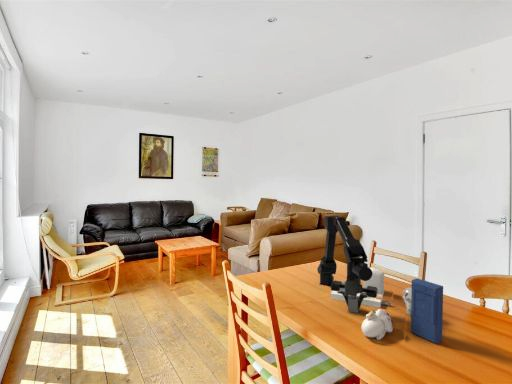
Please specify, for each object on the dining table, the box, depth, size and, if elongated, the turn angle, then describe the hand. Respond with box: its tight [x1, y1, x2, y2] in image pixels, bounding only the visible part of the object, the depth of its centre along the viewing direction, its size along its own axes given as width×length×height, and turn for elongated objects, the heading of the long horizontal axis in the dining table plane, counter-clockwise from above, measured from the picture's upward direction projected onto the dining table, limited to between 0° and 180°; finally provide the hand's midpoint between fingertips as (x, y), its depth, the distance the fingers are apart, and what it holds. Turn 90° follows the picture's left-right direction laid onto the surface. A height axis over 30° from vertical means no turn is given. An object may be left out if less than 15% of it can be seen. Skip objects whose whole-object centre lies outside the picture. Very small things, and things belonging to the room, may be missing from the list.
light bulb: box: [401, 287, 412, 317], centre depth 121 cm, size 7×7×12 cm
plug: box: [347, 295, 360, 314], centre depth 125 cm, size 4×4×8 cm
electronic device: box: [410, 278, 444, 345], centre depth 105 cm, size 10×5×20 cm, turn 31°
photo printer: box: [362, 267, 385, 296], centre depth 146 cm, size 10×4×12 cm, turn 39°
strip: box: [330, 290, 392, 309], centre depth 136 cm, size 26×9×4 cm, turn 61°
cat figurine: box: [361, 308, 393, 341], centre depth 108 cm, size 10×8×15 cm
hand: (353, 307), depth 126 cm, fingers closed on plug, 4 cm apart
